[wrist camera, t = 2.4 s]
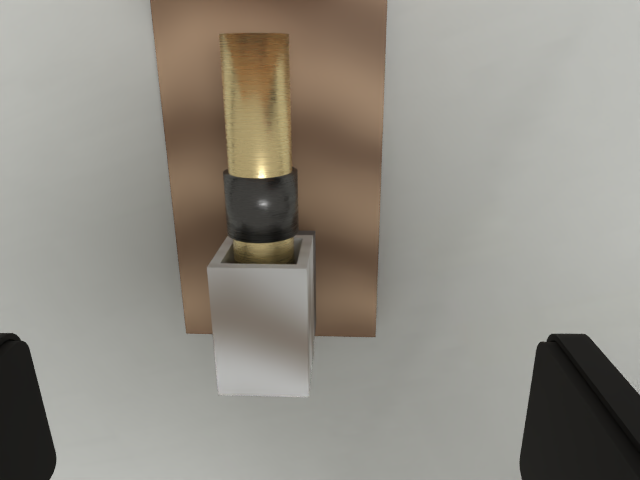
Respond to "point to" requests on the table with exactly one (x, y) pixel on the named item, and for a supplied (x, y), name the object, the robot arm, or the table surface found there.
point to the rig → (313, 184)
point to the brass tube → (259, 148)
